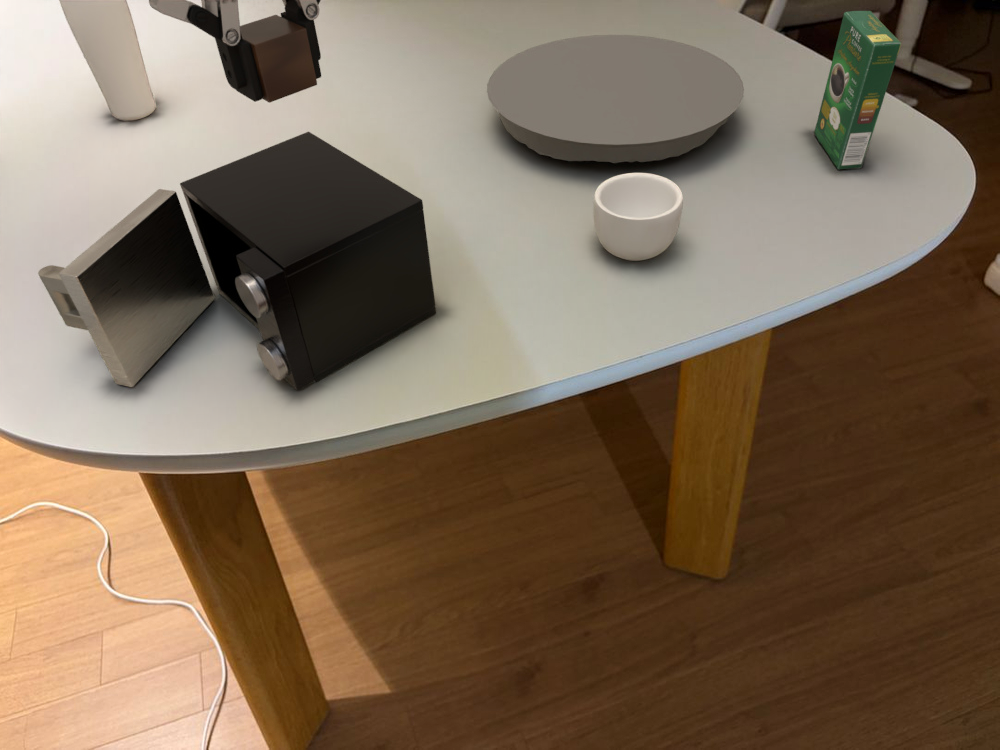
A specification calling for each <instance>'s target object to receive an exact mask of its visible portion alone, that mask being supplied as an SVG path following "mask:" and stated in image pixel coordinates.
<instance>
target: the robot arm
mask: <svg viewBox="0 0 1000 750" xmlns="http://www.w3.org/2000/svg"><path fill="white" fill-rule="evenodd" d="M200 1H201V5H199V4H197V3H194V2H192V1H190V0H148V3H149V6H150V8H152V9H153V10H155V11H157V12H158V13H160V14H162V15H165V16H167V17H170V18H172V19H176V20H179V21H181V22H185V23H188V24H191V25H193V26H194V27H196V28H197V29H199V30H201V31H202V32H204V33H206V34H207V35H209V36H211V37H212V38H213V39H214V40H215V43H216V47H217V50H218V53H219V58H220V62H221V64H222V68H223V71H224V75H225V78H226V81H227V83H228V85H229V86H230V87H231V88H232V89H234V90H235V91H236V92H237V93H239V94H241V95H243V96H244V97H246V98H248V99H250V100H251V101H253V102H254V103H255V102H258V101H261V100H263V99H262V97H263V96H264V94H263V90H262V86H261V82H260V78H259V75H258V71H257V67H256V63H255V59H254V55H253V51H252V47H251V45H250V43H249V42H247V41H246V40H244V39H242V35H241V31H240V26H241V23H240V22H241V21H240V11H239V0H200ZM321 1H322V0H281V2H282V3H283V6H284V11H283V12H280V17H282V18H284V19H286V20H289V21H291V22H293V23H295V24H297V25H299V26H302V27H304V28H306V32H307V37H308V41H309V46H310V51H311V56H312V61H313V66H314V71H315V76H316V80H318V79H321V78H322V70H321V66H320V60H321V58H322V55H321V49H320V44H319V40H318V39H319V38H318V34H317V29H316V24H315V23H316V22H315V20H316V19H317V18H318V17H319V15H320V6H319V4H321Z"/></svg>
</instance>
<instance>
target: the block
mask: <svg viewBox="0 0 1000 750" xmlns="http://www.w3.org/2000/svg"><path fill="white" fill-rule="evenodd" d="M240 31H241V35H242V39H244V40H246V41H247V42H249V43H250V45H251V47H252V51H253V55H254V59H255V63H256V67H257V71H258V75H259V78H260V82H261V86H262V90H263V94H264V96H263V97H262V99H261V100H264V101H265V102H267V103H273V102H275V101H278V100H280V99H283V98H286V97H289V96H291V95H294V94H296V93H297V94H298V93H299V92H302V91H305V90H307V89H310V88H313V87H316V86H317V85H318V81H317V80H318V79H316V76H315V71H314V66H313V61H312V56H311V51H310V46H309V41H308V37H307V32H306V28H304V27H302V26H299V25H297V24H295V23H293V22H291V21H289V20H286V19H284V18H282V17H281V15H278V14H273V15H270V16H267V17H263V18H261V19H258V20H254V21H251V22H249V23H245V24H242V25H240Z"/></svg>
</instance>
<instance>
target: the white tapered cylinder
mask: <svg viewBox="0 0 1000 750" xmlns="http://www.w3.org/2000/svg"><path fill="white" fill-rule="evenodd" d="M58 1H59V5H60V7H61V10H62V13H63V15H64V17H65V20H66V22H67V25H68V26H69V29H70V31H71V33H72V35H73V37H74V39H75V41H76V44H77V45H78V47H79V49H80V52H81V54H82V56H83V57H84V59H85V61H86V64H87V66H88V67H89V69H90V71H91V73H92V75H93V77H94V79H95V82H96V83H97V85H98V88H99V90H100V92H101V94H102V96H103V98H104V101H105V103H106V105H107V107H108V111H109V112H110V114H111V116H112V117H113V118H115V119H116V120H119V121H125V122H126V121H127V122H128V121H130V122H131V121H137V120H140V119H144V118H146V117H148V116H150V115H151V114H153V113H154V112H155V110H156V108H157V103H156V100H155V96H154V94H153V91H152V88H151V84H150V80H149V77H148V73H147V70H146V65H145V61H144V58H143V54H142V49H141V45H140V42H139V38H138V34H137V30H136V26H135V23H134V19H133V16H132V13H131V9H130V7H129V4H128V1H127V0H58Z"/></svg>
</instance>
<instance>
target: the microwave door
mask: <svg viewBox="0 0 1000 750" xmlns="http://www.w3.org/2000/svg"><path fill="white" fill-rule="evenodd" d="M37 275H38V276H39V278H40V281H41V282H42V284H43V286H44V287H45V290H46V291H47V293H48V295H49V297H50V299H51V300H52V302H53V304H54V306H55V308H56V310H57V311H58V313H59V315H60V317H61V319H62V321H63V322H64V325H65V326H66V327H69V328H75V329H80V330H85V331H87V332H88V333H89V335H90V337H91V339H92V341H93V343H94V344H95V347H96V349H97V350H98V352H99V354H100V356H101V358H102V360H103V362H104V364H105V366H106V367H107V370H108V371H109V373H110V375H111V378H112V379H113V381H114V383H115V384H116V385H120V386H124V387H129V388H133V387H135V385H136V384H138V382H139V381H140V380H141V379H142V378H143V377H144V375H146V374H147V373H148V372H149V370H150V369H151V368H152V367H153V366H154V365H155V364H156V362H158V361H159V359H160V358H161V357H162V356H163V355H164V354H165V353H166V352H167V351H168V350H169V349H170V348H171V347H172V345H174V343H175V342H176V341H177V340H178V339H179V338H180V337H181V336H182V335H183V334H184V333H185V332H186V330H187V329H188V328H189V327H190V326H191V325H192V324H193V323H194V322H195V321H196V320H197V319H198V318H199V317H200V316H201V314H202V313H203V312H204V311H205V310H206V309H207V308H208V307H209V306H210V305H211V304H212V302H213V301H214V300H215V295H214V292H213V290H212V286H211V284H210V281H209V278H208V276H207V273H206V270H205V268H204V264H203V262H202V260H201V257H200V254H199V251H198V248H197V245H196V243H195V240H194V238H193V235H192V232H191V228H190V226H189V224H188V221H187V218H186V215H185V213H184V210H183V207H182V204H181V202H180V199H179V197H178V194H177V191H176V190H169V189H162V188H159V189H157V190H156V191H155V192H154V193H153V194H151V195H150V196H149V197H148V198H146V199H145V200H144V201H143V202H142V203H140V204H139V205H138V206H137V207H136V208H134V210H132V211H130V213H128V214H127V215H126V216H125V217H124V218H123V219H121V220H120V221H119V222H118V223H116V224H115V225H114V226H113V227H112V228H110V229H109V230H108V231H107V232H106V233H105V234H104V235H102V236H101V237H99V239H98V240H96V241H95V242H94V243H93V244H91V245H90V246H89V247H88V248H86V250H84V251H83V252H82V253H81V254H80V255H78V256H77V257H76V258H75V259H74V260H72V261H71V262H70V263H69V264H68V265H67V266H65V267H64V266H58V265H53V264H52V265H45V266H43V267H41V268H40V269H39V270H38V273H37Z"/></svg>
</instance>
